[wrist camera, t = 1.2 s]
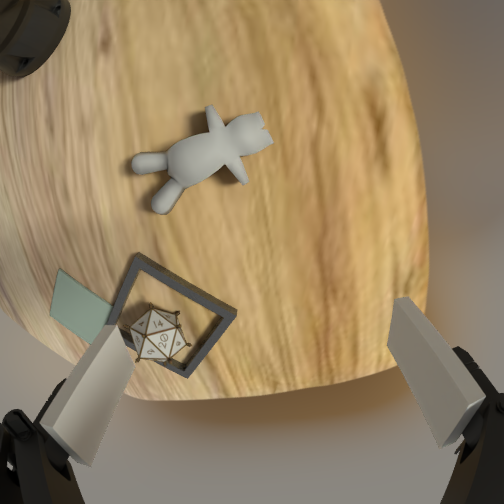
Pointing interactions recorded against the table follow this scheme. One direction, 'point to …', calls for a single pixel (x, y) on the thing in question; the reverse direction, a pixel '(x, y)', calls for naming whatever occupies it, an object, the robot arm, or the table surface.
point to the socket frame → (183, 288)
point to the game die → (157, 336)
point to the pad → (79, 308)
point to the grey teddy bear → (204, 156)
